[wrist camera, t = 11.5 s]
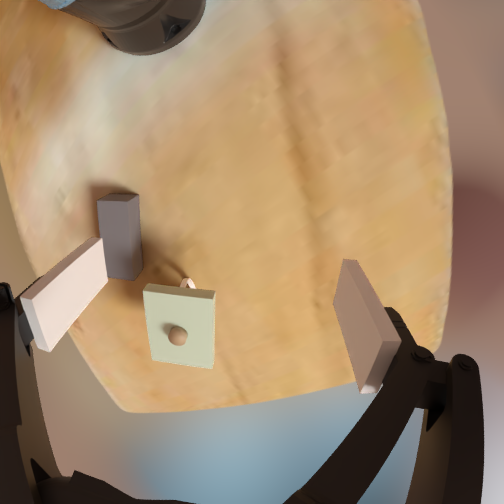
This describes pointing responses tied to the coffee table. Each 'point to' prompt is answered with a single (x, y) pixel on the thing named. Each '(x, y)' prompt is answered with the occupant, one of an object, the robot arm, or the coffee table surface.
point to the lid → (180, 324)
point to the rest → (121, 235)
